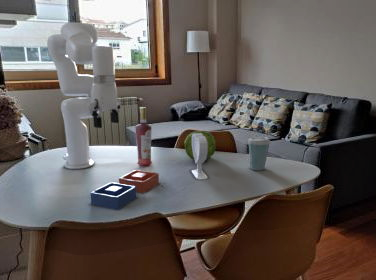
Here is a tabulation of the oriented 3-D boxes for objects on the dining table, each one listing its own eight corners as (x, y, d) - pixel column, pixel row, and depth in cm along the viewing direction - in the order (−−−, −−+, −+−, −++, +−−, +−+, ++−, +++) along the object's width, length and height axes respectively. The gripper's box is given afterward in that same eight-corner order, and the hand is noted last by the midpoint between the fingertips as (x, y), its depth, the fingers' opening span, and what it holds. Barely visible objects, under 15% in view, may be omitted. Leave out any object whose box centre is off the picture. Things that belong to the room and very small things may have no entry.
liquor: (144, 168, 165) (142, 109, 159) (133, 166, 169) (131, 107, 162) (155, 164, 171) (154, 107, 165) (144, 162, 175) (142, 105, 168)
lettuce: (216, 158, 194) (211, 130, 195) (220, 156, 173) (215, 126, 174) (186, 163, 191) (182, 135, 192) (187, 162, 171) (182, 131, 172)
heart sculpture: (190, 169, 166) (190, 131, 162) (200, 168, 168) (200, 131, 164) (197, 180, 152) (197, 139, 148) (209, 179, 154) (209, 139, 149)
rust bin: (119, 188, 141) (118, 178, 140) (135, 179, 151) (135, 169, 150) (143, 193, 137) (143, 182, 136) (158, 183, 147) (158, 173, 146)
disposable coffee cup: (243, 169, 167) (244, 138, 164) (250, 163, 177) (252, 134, 174) (265, 173, 164) (266, 141, 160) (271, 166, 173) (273, 136, 170)
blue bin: (91, 204, 126) (90, 192, 125) (111, 193, 136) (110, 182, 135) (117, 209, 122) (117, 197, 121) (136, 197, 133) (136, 186, 132)
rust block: (131, 186, 143) (131, 175, 141) (138, 182, 147) (137, 172, 146) (141, 187, 141) (140, 177, 140) (147, 184, 145) (147, 173, 144)
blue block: (105, 201, 128) (104, 189, 127) (113, 196, 132) (112, 185, 131) (115, 203, 126) (115, 191, 125) (123, 198, 130) (122, 187, 129)
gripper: (111, 77, 140) (113, 119, 145) (79, 80, 125) (82, 128, 129) (127, 78, 138) (128, 121, 142) (96, 82, 122) (99, 130, 127)
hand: (106, 124), depth 136 cm, fingers open, 9 cm apart
